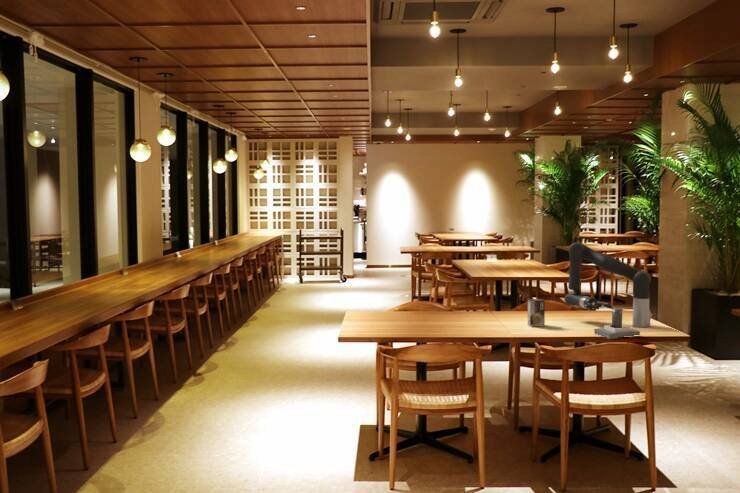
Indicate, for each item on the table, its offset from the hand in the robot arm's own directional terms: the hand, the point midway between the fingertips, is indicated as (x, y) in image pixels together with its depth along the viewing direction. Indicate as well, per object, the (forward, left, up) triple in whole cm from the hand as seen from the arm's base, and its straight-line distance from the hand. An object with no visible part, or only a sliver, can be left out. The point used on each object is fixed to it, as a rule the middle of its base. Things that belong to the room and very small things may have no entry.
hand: (604, 307), depth 407 cm
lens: (+1, +13, -11) cm, 17 cm away
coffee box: (+31, -25, -14) cm, 42 cm away
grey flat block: (+1, +13, -14) cm, 19 cm away
